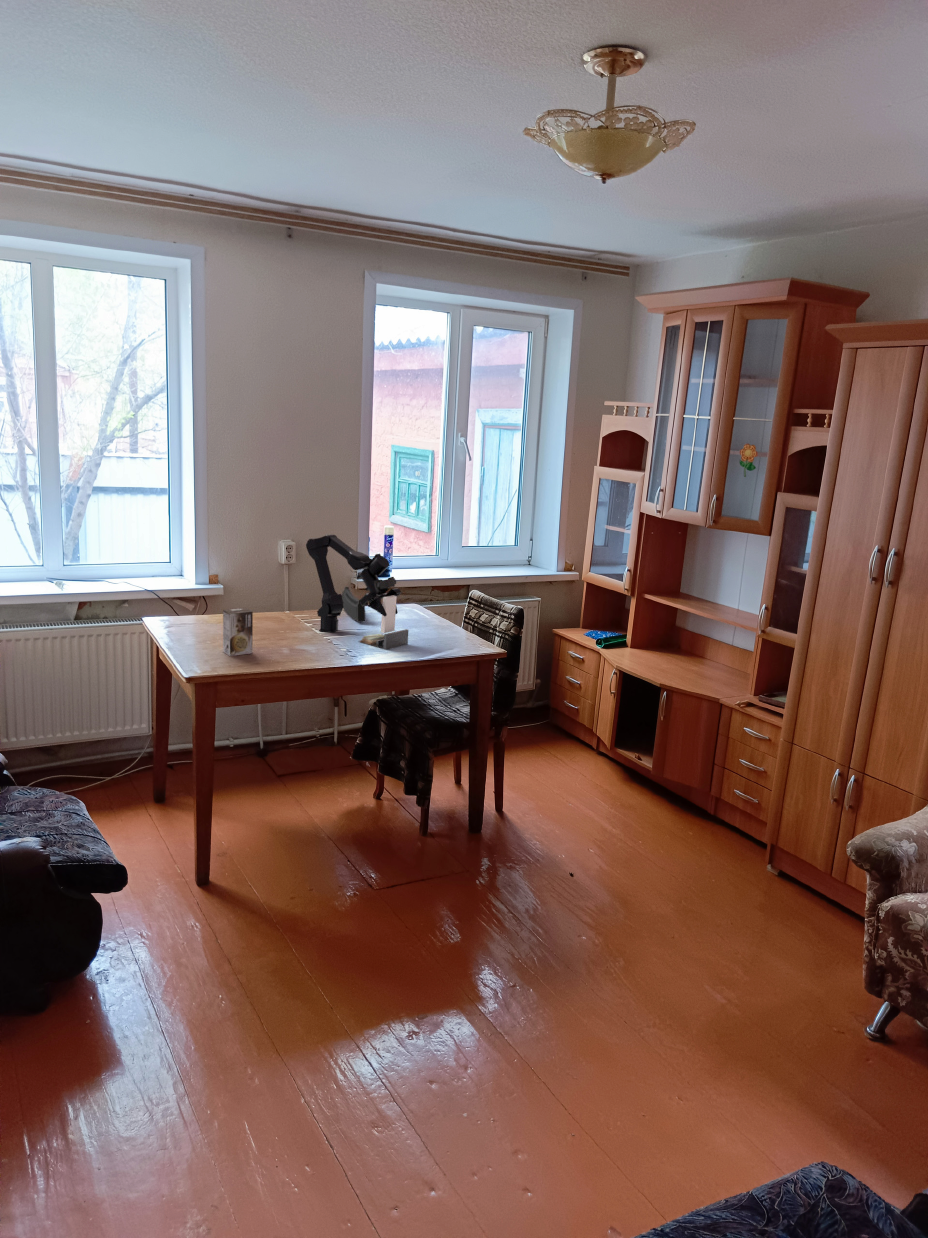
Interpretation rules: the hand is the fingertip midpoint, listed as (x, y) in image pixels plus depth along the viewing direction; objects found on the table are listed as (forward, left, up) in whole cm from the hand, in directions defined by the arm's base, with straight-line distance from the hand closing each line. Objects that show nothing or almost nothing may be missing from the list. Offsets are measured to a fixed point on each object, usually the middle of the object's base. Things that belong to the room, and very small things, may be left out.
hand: (391, 614), depth 343 cm
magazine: (-28, +46, -14) cm, 55 cm away
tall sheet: (-1, +1, -7) cm, 7 cm away
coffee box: (-51, -30, -14) cm, 60 cm away
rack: (-3, +2, -13) cm, 14 cm away
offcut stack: (-7, +4, -12) cm, 15 cm away
